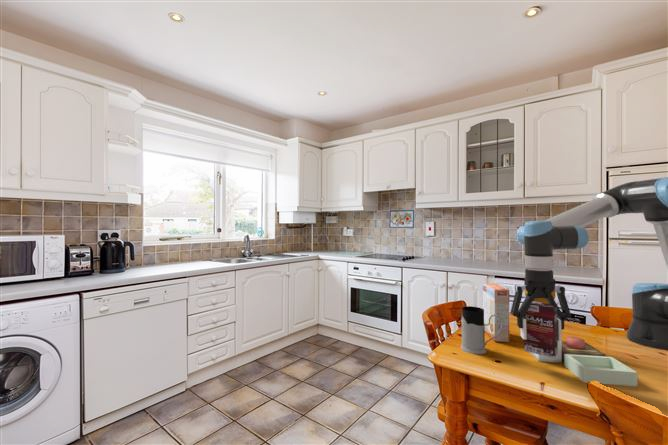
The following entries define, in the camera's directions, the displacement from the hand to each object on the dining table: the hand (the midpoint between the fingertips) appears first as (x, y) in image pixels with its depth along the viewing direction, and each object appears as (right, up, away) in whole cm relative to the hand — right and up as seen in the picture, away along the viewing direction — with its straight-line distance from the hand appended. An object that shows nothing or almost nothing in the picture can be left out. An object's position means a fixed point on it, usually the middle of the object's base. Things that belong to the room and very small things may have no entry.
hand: (540, 338), depth 99 cm
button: (+17, -6, +8) cm, 20 cm away
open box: (+7, -10, +9) cm, 15 cm away
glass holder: (-12, -10, +15) cm, 22 cm away
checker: (+17, -10, +8) cm, 21 cm away
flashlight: (+14, -10, +21) cm, 27 cm away
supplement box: (0, -5, 0) cm, 5 cm away
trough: (+15, -10, -4) cm, 18 cm away
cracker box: (+1, -10, +29) cm, 31 cm away
